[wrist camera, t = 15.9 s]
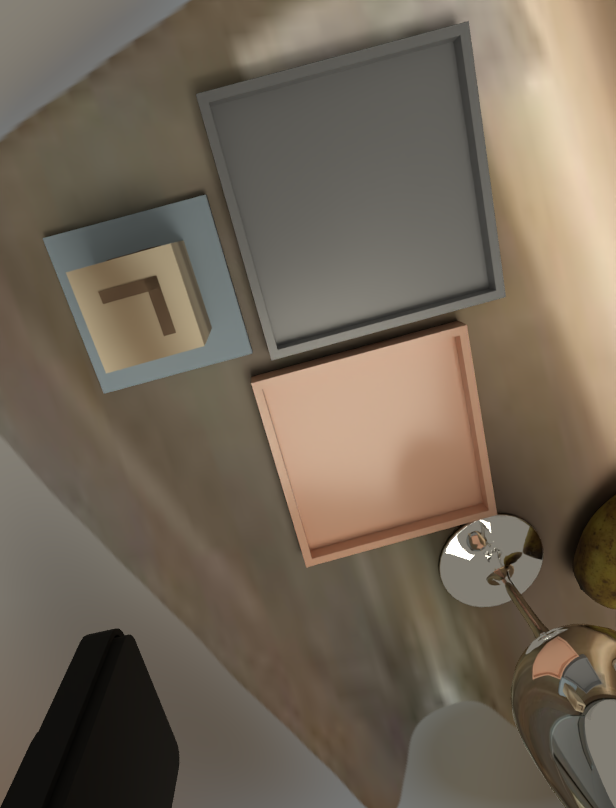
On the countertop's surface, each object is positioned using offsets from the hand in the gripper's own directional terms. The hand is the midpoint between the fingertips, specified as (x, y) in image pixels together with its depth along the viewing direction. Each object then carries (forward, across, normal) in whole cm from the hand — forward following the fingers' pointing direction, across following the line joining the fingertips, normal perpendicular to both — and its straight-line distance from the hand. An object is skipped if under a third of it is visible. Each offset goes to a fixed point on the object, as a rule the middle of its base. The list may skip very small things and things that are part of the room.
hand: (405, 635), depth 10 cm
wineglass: (+25, -9, +19) cm, 33 cm away
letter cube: (+24, +8, -4) cm, 26 cm away
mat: (+24, +8, -4) cm, 26 cm away
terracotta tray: (+25, -2, +8) cm, 26 cm away
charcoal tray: (+25, -4, -7) cm, 26 cm away
